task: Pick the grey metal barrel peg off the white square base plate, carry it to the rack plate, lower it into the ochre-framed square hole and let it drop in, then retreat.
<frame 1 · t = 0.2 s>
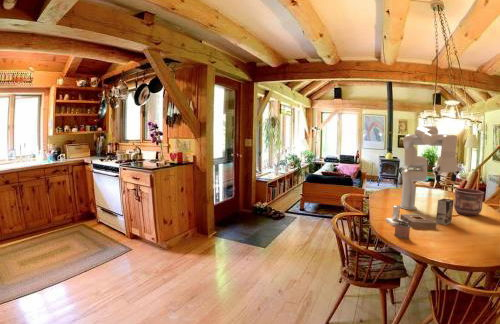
hand: (445, 181, 174), 31 cm above the table, tool pointing down, fingers open, 9 cm apart
lighter: (401, 237, 162), on the table
white square base plate: (395, 223, 186), on the table
pottery: (466, 213, 208), on the table
coffee box: (443, 223, 187), on the table
peg: (395, 220, 185), point 2 cm above the table, touching white square base plate
rack plate: (417, 223, 185), on the table
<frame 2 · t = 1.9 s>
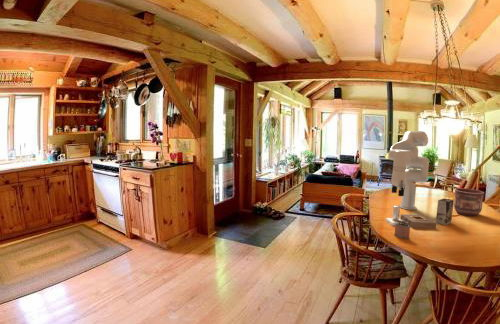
hand: (397, 194, 183), 20 cm above the table, tool pointing down, fingers open, 9 cm apart
nothing on the table moved.
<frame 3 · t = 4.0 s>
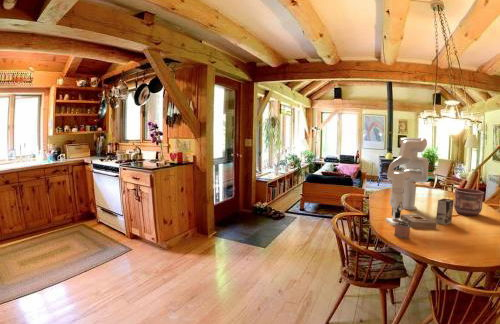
hand: (395, 216, 185), 5 cm above the table, tool pointing down, fingers closed on peg, 4 cm apart
peg: (395, 220, 185), point 2 cm above the table, touching gripper, white square base plate
everything else where it was.
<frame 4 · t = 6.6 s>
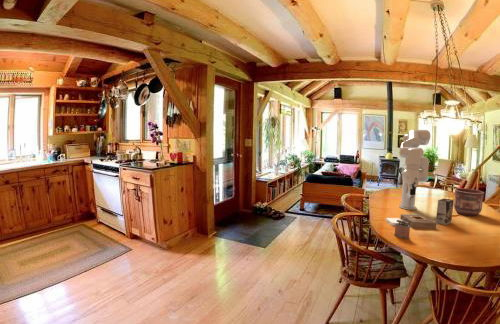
hand: (410, 193, 183), 21 cm above the table, tool pointing down, fingers closed on peg, 4 cm apart
peg: (410, 197, 183), point 18 cm above the table, touching gripper
everything else where it was.
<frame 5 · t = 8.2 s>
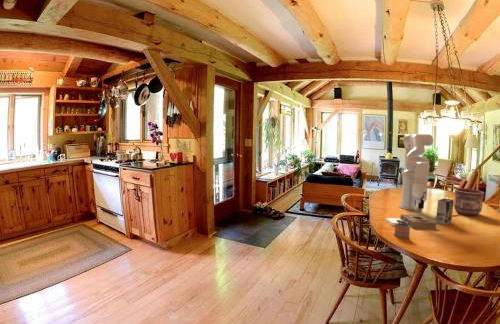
hand: (418, 207, 183), 12 cm above the table, tool pointing down, fingers closed on peg, 4 cm apart
peg: (418, 211, 183), point 9 cm above the table, touching gripper
everything else where it was.
when the fingers open (6 cm above the table, at t = 9.6 s): peg drops 3 cm, resting in rack plate.
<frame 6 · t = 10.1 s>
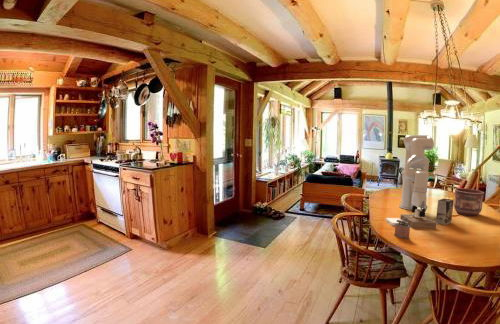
hand: (418, 214, 184), 7 cm above the table, tool pointing down, fingers open, 9 cm apart
peg: (417, 223, 185), resting in rack plate
everything else where it was.
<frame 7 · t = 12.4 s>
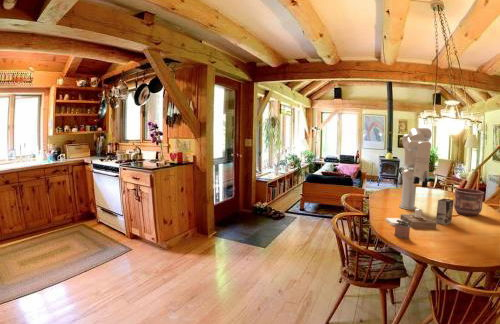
hand: (420, 185, 183), 26 cm above the table, tool pointing down, fingers open, 9 cm apart
nothing on the table moved.
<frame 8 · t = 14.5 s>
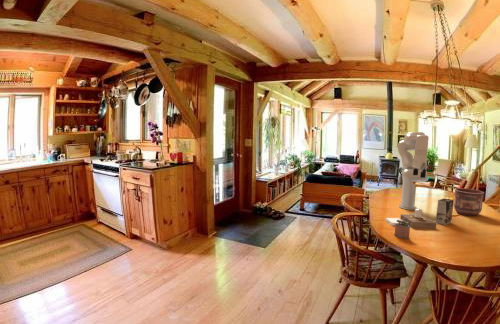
hand: (419, 176, 195), 30 cm above the table, tool pointing down, fingers open, 9 cm apart
nothing on the table moved.
at the end: peg 0.1 cm off-centre on the rack plate, point 0.0 cm above the rack plate's base; peg tilted 0°; the gripper is holding nothing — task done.
